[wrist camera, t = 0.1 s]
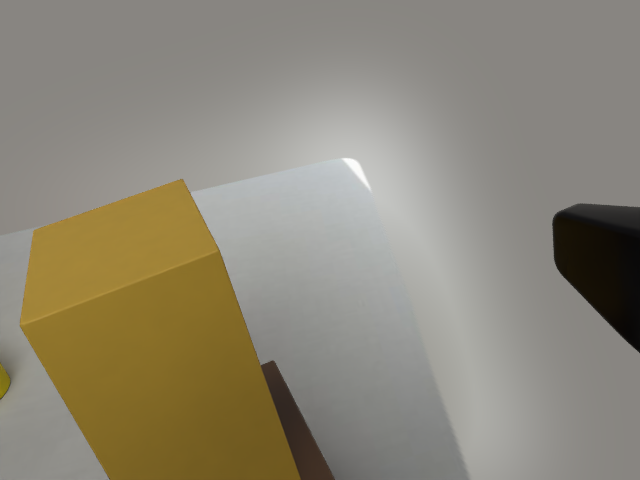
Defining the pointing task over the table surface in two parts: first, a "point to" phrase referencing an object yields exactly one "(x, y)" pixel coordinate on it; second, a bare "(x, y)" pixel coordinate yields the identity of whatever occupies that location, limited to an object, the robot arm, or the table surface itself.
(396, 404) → the table surface
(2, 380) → the crank
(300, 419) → the stand
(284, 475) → the yellow rectangular block
